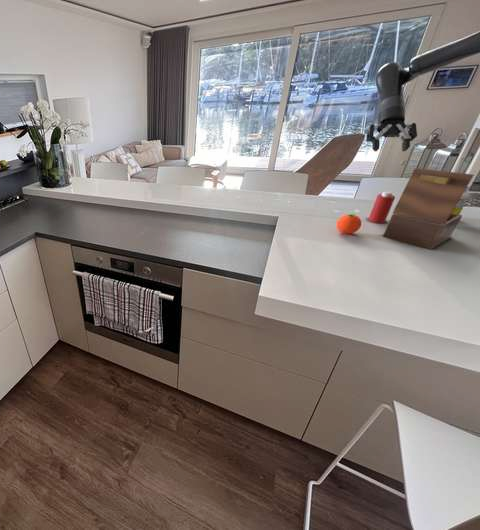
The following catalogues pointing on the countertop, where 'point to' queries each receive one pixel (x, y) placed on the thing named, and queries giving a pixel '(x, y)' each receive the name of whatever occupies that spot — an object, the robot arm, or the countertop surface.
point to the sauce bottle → (381, 207)
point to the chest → (421, 230)
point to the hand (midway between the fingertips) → (390, 150)
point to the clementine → (348, 223)
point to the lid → (432, 195)
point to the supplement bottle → (461, 201)
